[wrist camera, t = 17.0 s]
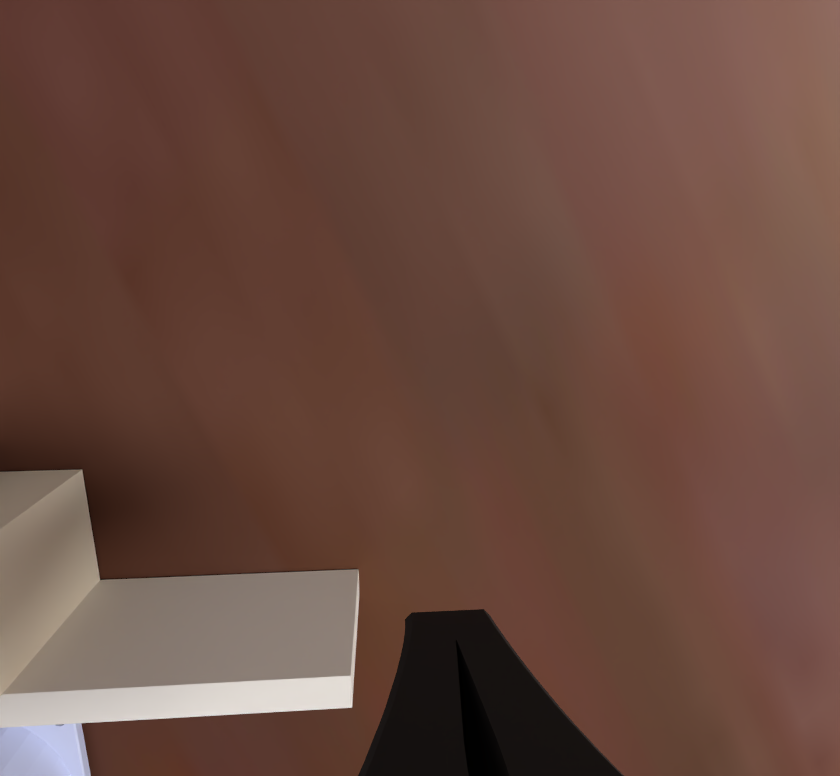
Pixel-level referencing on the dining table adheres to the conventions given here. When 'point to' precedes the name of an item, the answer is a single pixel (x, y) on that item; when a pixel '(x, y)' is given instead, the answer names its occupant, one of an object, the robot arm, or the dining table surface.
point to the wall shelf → (154, 626)
